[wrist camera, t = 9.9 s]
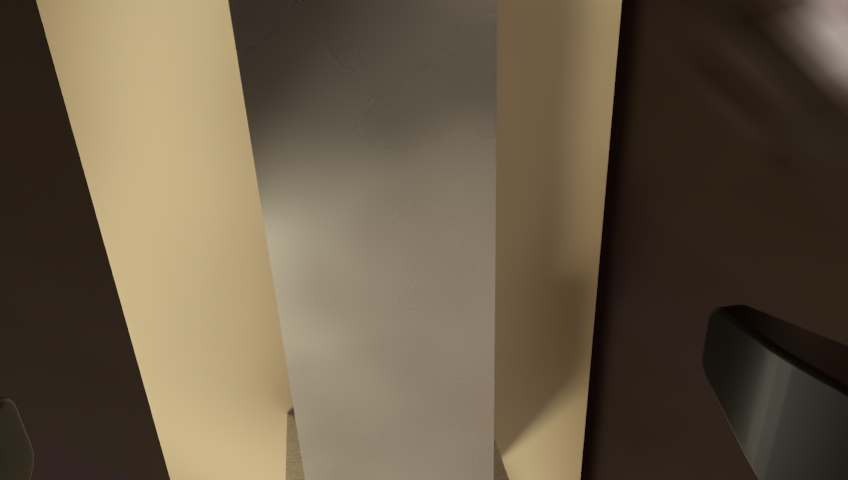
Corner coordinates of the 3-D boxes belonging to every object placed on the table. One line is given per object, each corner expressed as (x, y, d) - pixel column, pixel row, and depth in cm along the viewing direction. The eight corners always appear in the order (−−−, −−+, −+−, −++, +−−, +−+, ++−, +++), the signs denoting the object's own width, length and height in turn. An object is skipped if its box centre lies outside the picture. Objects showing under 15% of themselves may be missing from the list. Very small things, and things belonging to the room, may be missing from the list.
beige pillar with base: (473, -302, 11) (559, -387, 7) (477, 481, 18) (521, 628, 14) (168, -297, 10) (99, -387, 7) (302, 507, 17) (303, 666, 14)
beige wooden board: (629, -568, 11) (825, -828, 7) (556, 516, 21) (615, 663, 17) (-88, -589, 9) (-365, -921, 6) (215, 570, 20) (194, 740, 16)
